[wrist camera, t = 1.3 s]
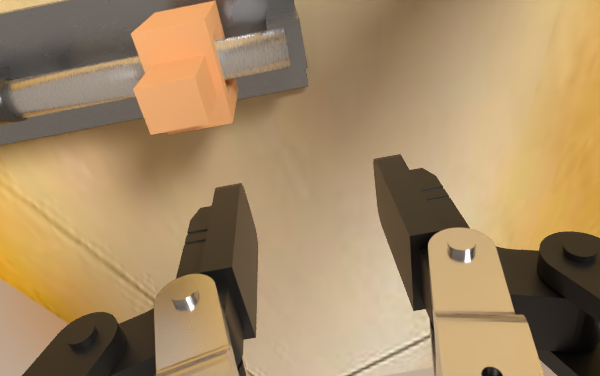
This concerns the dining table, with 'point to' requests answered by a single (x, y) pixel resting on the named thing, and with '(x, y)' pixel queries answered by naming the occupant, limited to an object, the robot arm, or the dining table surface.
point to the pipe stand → (126, 59)
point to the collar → (183, 71)
